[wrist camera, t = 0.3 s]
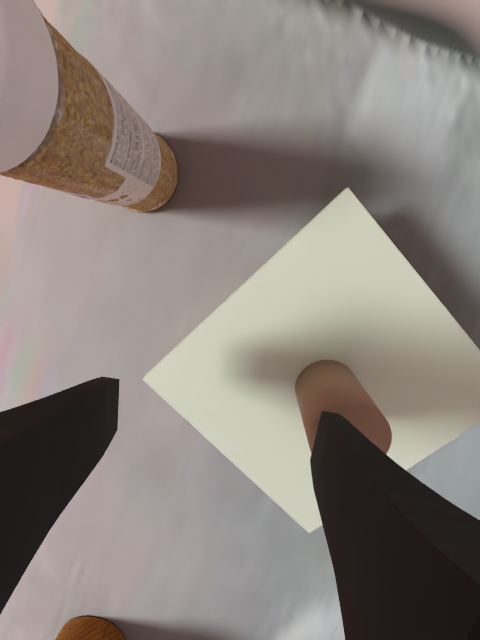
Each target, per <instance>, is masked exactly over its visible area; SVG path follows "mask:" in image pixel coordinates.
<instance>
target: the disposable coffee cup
mask: <svg viewBox="0 0 480 640" xmlns="http://www.w3.org/2000/svg"><path fill="white" fill-rule="evenodd" d="M55 640H125V638H124V636H123V634H122V633H121V632H120V630H119V629H118V628H117V627H115V626H114V625H113V624H111V623H109V622H107V621H105V620H103V619H100V618H95V617H87V616H86V617H78V618H74V619H72V620H70V621H68V622H67V623H66V624H65V625H64V626H63V628H62V630H61V631H60V633H59V634H58V636H57V638H56V639H55Z"/></svg>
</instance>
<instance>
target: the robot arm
mask: <svg viewBox="0 0 480 640" xmlns="http://www.w3.org/2000/svg"><path fill="white" fill-rule="evenodd" d="M118 400H119V379H114V378H107V377H100V378H96V379H93V380H90V381H87V382H84V383H82V384H79V385H76V386H74V387H71V388H69V389H66V390H63V391H61V392H58V393H55V394H53V395H50V396H47V397H45V398H42V399H39V400H36V401H33V402H30V403H27V404H24V405H21V406H18V407H15V408H12V409H9V410H6V411H3V412H0V614H1V612H2V610H3V609H4V607H5V605H6V603H7V602H8V600H9V598H10V596H11V595H12V593H13V591H14V589H15V588H16V586H17V584H18V582H19V581H20V579H21V577H22V576H23V574H24V572H25V570H26V569H27V567H28V565H29V563H30V562H31V560H32V558H33V557H34V555H35V553H36V552H37V550H38V549H39V547H40V545H41V544H42V542H43V540H44V539H45V537H46V535H47V534H48V532H49V530H50V529H51V527H52V526H53V524H54V523H55V521H56V520H57V518H58V517H59V516H60V514H61V513H62V511H63V510H64V509H65V507H66V506H67V505H68V503H69V502H70V500H71V499H72V498H73V496H74V495H75V494H76V492H77V491H78V490H79V488H80V487H81V485H82V484H83V483H84V481H85V480H86V479H87V477H88V476H89V475H90V473H91V472H92V470H93V469H94V468H95V466H96V465H97V463H98V462H99V461H100V459H101V458H102V456H103V455H104V453H105V451H106V450H107V448H108V446H109V444H110V442H111V441H112V439H113V437H114V435H115V433H116V431H117V424H118ZM310 465H311V474H312V482H313V489H314V493H315V497H316V501H317V505H318V509H319V513H320V517H321V521H322V524H323V528H324V532H325V536H326V540H327V544H328V548H329V551H330V555H331V559H332V564H333V568H334V573H335V577H336V583H337V589H338V595H339V601H340V607H341V613H342V620H343V626H344V633H345V640H480V520H478V519H476V518H475V517H473V516H471V515H470V514H468V513H466V512H465V511H463V510H462V509H460V508H458V507H457V506H455V505H454V504H452V503H451V502H449V501H448V500H446V499H445V498H443V497H442V496H440V495H439V494H437V493H436V492H435V491H433V490H432V489H430V488H429V487H427V486H426V485H425V484H423V483H422V482H420V481H419V480H418V479H416V478H415V477H414V476H412V475H411V474H410V473H408V472H407V471H406V470H405V469H403V468H402V467H401V466H400V465H398V464H397V463H396V462H395V461H393V460H392V459H391V458H390V457H389V456H387V455H386V454H385V453H384V452H383V451H382V450H380V449H379V448H378V447H377V446H376V445H375V444H374V443H372V442H371V441H370V440H369V439H368V438H367V437H366V436H365V435H363V434H362V433H361V432H360V431H359V430H358V429H357V428H356V427H355V426H353V425H352V424H351V423H350V422H349V421H348V420H347V419H345V418H344V417H343V416H342V415H340V414H338V413H332V412H325V411H322V412H321V416H320V420H319V424H318V429H317V433H316V437H315V441H314V445H313V449H312V454H311V458H310Z"/></svg>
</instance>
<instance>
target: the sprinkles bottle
mask: <svg viewBox="0 0 480 640" xmlns="http://www.w3.org/2000/svg"><path fill="white" fill-rule="evenodd" d="M0 175H2V176H6V177H11V178H13V179H17V180H22V181H25V182H29V183H33V184H37V185H42V186H45V187H47V188H50V189H53V190H56V191H60V192H63V193H67V194H71V195H75V196H79V197H83V198H86V199H91V200H95V201H99V202H103V203H107V204H111V205H116V206H122V207H124V208H127V209H128V210H131V211H135V212H149V211H153V210H156V209H158V208H160V207H161V206H163V205H164V204H165V203H166V202H167V201H168V200H169V198H170V197H171V196H172V194H173V192H174V189H175V187H176V185H177V175H178V170H177V163H176V160H175V157H174V154H173V152H172V150H171V149H170V148H169V146H168V145H167V144H166V142H165V141H164V140H163V139H162V138H160V137H159V136H158V135H157V134H155V133H153V132H152V130H151V128H150V127H149V126H148V124H147V123H146V122H145V121H144V120H143V119H142V118H141V117H140V115H139V114H138V113H137V112H136V111H135V110H134V109H133V108H132V107H131V106H130V105H129V104H128V102H127V101H126V100H125V99H124V98H123V97H122V96H121V95H120V94H119V93H118V92H117V91H116V90H115V88H114V87H113V86H112V85H111V84H110V83H109V82H108V81H107V80H106V79H105V78H104V77H103V76H102V75H101V74H100V73H99V71H98V70H97V69H96V68H95V67H94V66H93V65H92V64H91V63H90V62H89V61H88V60H87V59H86V58H85V57H83V56H82V55H81V54H79V53H78V52H77V51H76V50H75V49H74V48H73V47H72V46H71V45H70V44H69V42H68V41H67V40H66V39H65V38H64V37H63V36H62V35H61V34H60V33H59V32H58V31H57V30H56V29H55V28H54V27H53V26H52V25H51V24H50V23H49V22H48V21H47V20H46V19H45V18H44V17H43V15H42V13H41V12H40V10H39V9H38V7H37V5H36V3H35V2H34V0H0Z"/></svg>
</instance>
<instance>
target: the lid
mask: <svg viewBox="0 0 480 640" xmlns="http://www.w3.org/2000/svg"><path fill="white" fill-rule="evenodd" d="M143 380H144V381H145V382H146V383H147V384H148V385H149V386H150V387H151V388H152V389H154V390H155V391H156V392H157V393H158V394H159V395H160V396H161V397H162V398H163V399H164V400H165V401H167V402H168V403H169V404H170V405H171V406H172V407H173V408H174V409H175V410H176V411H177V412H178V413H180V414H181V415H182V416H183V417H184V418H185V419H186V420H187V421H188V422H189V423H190V424H191V425H192V426H194V427H195V428H196V429H197V430H198V431H199V432H200V433H201V434H202V435H203V436H204V437H205V438H207V439H208V440H209V441H210V442H211V443H212V444H213V445H214V446H215V447H216V448H217V449H218V450H220V451H221V452H222V453H223V454H224V455H225V456H226V457H227V458H228V459H229V460H230V461H231V462H233V463H234V464H235V465H236V466H237V467H238V468H239V469H240V470H241V471H242V472H243V473H244V474H246V475H247V476H248V477H249V478H250V479H251V480H252V481H253V482H254V483H255V484H256V485H257V486H259V487H260V488H261V489H262V490H263V491H264V492H265V493H266V494H267V495H268V496H269V497H270V498H272V499H273V500H274V501H275V502H276V503H277V504H278V505H279V506H280V507H281V508H282V509H283V510H285V511H286V512H287V513H288V514H289V515H290V516H291V517H292V518H293V519H294V520H295V521H296V522H298V523H299V524H300V525H301V526H302V527H303V528H304V529H305V530H306V531H307V532H308V533H310V532H312V531H314V530H315V529H317V528H318V527H320V526H321V525H323V524H322V521H321V517H320V513H319V509H318V505H317V501H316V497H315V493H314V489H313V482H312V474H311V465H310V458H311V454H312V449H313V445H314V441H315V437H316V433H317V429H318V424H319V420H320V416H321V412H322V411H325V412H332V413H338V414H340V415H342V416H343V417H344V418H345V419H347V420H348V421H349V422H350V423H351V424H352V425H353V426H355V427H356V428H357V429H358V430H359V431H360V432H361V433H362V434H363V435H365V436H366V437H367V438H368V439H369V440H370V441H371V442H372V443H374V444H375V445H376V446H377V447H378V448H379V449H380V450H382V451H383V452H384V453H385V454H386V455H387V456H389V457H390V458H391V459H392V460H393V461H395V462H396V463H397V464H398V465H400V466H401V467H402V468H403V469H405V470H407V469H409V468H410V467H412V466H413V465H415V464H416V463H418V462H419V461H421V460H423V459H424V458H426V457H427V456H429V455H430V454H432V453H433V452H435V451H436V450H438V449H439V448H441V447H442V446H444V445H446V444H447V443H449V442H450V441H452V440H453V439H455V438H456V437H458V436H459V435H461V434H462V433H464V432H466V431H467V430H469V429H470V428H472V427H473V426H475V425H476V424H478V423H479V422H480V350H479V349H478V347H477V346H476V345H475V344H474V342H473V341H472V340H471V339H470V338H469V336H468V335H467V334H466V333H465V331H464V330H463V329H462V328H461V326H460V325H459V324H458V323H457V321H456V320H455V319H454V318H453V316H452V315H451V314H450V313H449V312H448V310H447V309H446V308H445V307H444V305H443V304H442V303H441V302H440V300H439V299H438V298H437V297H436V295H435V294H434V293H433V292H432V291H431V289H430V288H429V287H428V286H427V284H426V283H425V282H424V281H423V279H422V278H421V277H420V276H419V274H418V273H417V272H416V271H415V270H414V268H413V267H412V266H411V265H410V263H409V262H408V261H407V260H406V258H405V257H404V256H403V255H402V253H401V252H400V251H399V250H398V249H397V247H396V246H395V245H394V244H393V242H392V241H391V240H390V239H389V237H388V236H387V235H386V234H385V232H384V231H383V230H382V229H381V228H380V226H379V225H378V224H377V223H376V221H375V220H374V219H373V218H372V216H371V215H370V214H369V213H368V211H367V210H366V209H365V208H364V207H363V205H362V204H361V203H360V202H359V200H358V199H357V198H356V197H355V195H354V194H353V193H352V192H351V190H350V189H349V188H346V189H344V190H343V191H342V192H341V193H340V194H339V195H338V196H337V197H336V198H335V199H333V200H332V201H331V202H330V203H329V204H328V205H327V206H326V207H325V208H324V209H323V210H322V211H321V212H320V213H318V214H317V215H316V216H315V217H314V218H313V219H312V220H311V221H310V222H309V223H308V224H307V225H306V226H305V227H303V228H302V229H301V230H300V231H299V232H298V233H297V234H296V235H295V236H294V237H293V238H292V239H291V240H290V241H288V242H287V243H286V244H285V245H284V246H283V247H282V248H281V249H280V250H279V251H278V252H277V253H276V254H275V255H273V256H272V257H271V258H270V259H269V260H268V261H267V262H266V263H265V264H264V265H263V266H262V267H261V268H260V269H258V270H257V271H256V272H255V273H254V274H253V275H252V276H251V277H250V278H249V279H248V280H247V281H246V282H245V283H243V284H242V285H241V286H240V287H239V288H238V289H237V290H236V291H235V292H234V293H233V294H232V295H231V296H230V297H228V298H227V299H226V300H225V301H224V302H223V303H222V304H221V305H220V306H219V307H218V308H217V309H216V310H215V311H213V312H212V313H211V314H210V315H209V316H208V317H207V318H206V319H205V320H204V321H203V322H202V323H201V324H200V325H198V326H197V327H196V328H195V329H194V330H193V331H192V332H191V333H190V334H189V335H188V336H187V337H186V338H185V339H183V340H182V341H181V342H180V343H179V344H178V345H177V346H176V347H175V348H174V349H173V350H172V351H171V352H169V353H168V354H167V355H166V356H165V357H164V358H163V359H162V360H161V361H160V362H159V363H158V364H157V365H156V366H154V367H153V368H152V369H151V370H150V371H149V372H148V373H147V374H146V375H145V376H144V378H143Z"/></svg>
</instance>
